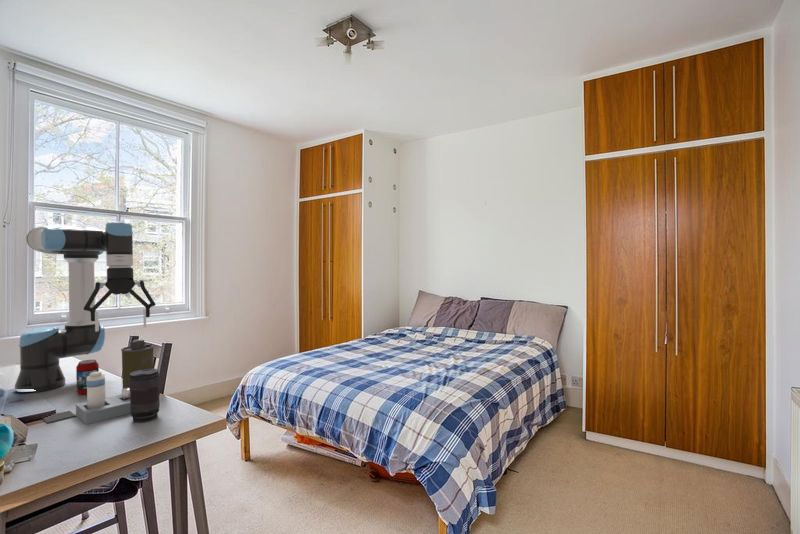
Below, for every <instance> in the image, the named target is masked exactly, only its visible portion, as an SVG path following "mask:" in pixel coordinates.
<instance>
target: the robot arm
mask: <svg viewBox="0 0 800 534" xmlns="http://www.w3.org/2000/svg"><path fill="white" fill-rule="evenodd" d="M132 227H133V226H132V224H131V223H130V222H124V221H123V222H122V221H108V222H107V223H106V224H105V229H98V228H96V227H90V226H89V227H88V226H74V225H73V226H71V225H69V226H68V225H54V224H53V225H42V226H37V227H34V228H32V229H31V230H30V231H28V233H27V235H26V243H27V245H28V247H30V248H31V249H33V250H34V251H36V252H39V253H44V254H49V255H51V254H52V255H63V260H65V261H66V262H67V263H68V310H69V311H68V313H69V314H68V315H69V316H68V321H66V323H64V329H60V328H59V326H55V325H54V326H46V327H40V328H36V329H32V330H28V331H25V332H23V333H22V334H21V335H20V336H19V345H18V346H19V358H20V360H19V364H20V365H19V368H20V369H19V374H18V376H17V378H16V382H15V384H14V390H15V389H34V390H36V391H38V392H45V391H46V392H47V391H50V390H53V389H57V388H60V387H62V386H64V385H66V377H65V375H64V372H63V370H62V369H61V366H60V359H63V358H65V359H66V358H70V357H71V358H72V357H76V356H83V355H86V356H87V355H91V354H94V353H99V352H100V351H101V350H102V348H103V346H104V344H105V341H106V340H105V338H106V332H105V326H104V325H102V324H100V321H99V319H100V318H99V310H97V309H98V308H100V306H101V305H102V304H103V303H104V302H105V301H106V300H107V299H108V298H109V297H110V296H111V295H127V294H131V296H132V297H133V298H135V300H137V301H138V303H140V304H141V305H142V306H143V307H144V308H143V309H142V313H143V315H142V316H143V328H147V318H150V315H151V311H150V309H151V308H153V307H155V306H156V302H155V301H154V299H153V297H152V296H151V294H150V293H149V291H148V290H147V288H146V286H145V281H144V280H137V281H135V280H134V268H133V266H134V252H133V251H134V250H133V249H134V248H133V234H134V233H133V228H132ZM104 253H105V254H106V258H105V259H106V266H107V267H108V268H107V269H106V282H102V281H101V282H100V281H96V282H95V262H97V261H98V260H99V256H101V255H102V254H104ZM136 285H137V287H138V288H140V289H141V290H142V292H143V294H144V295H145V297H146V299H147V300H148V302H149V303H148V302H147V301H145V300H144V299H143V298H142V297H141V296H140V295H139V294H138V293H137V292H135V291H134V287H135V286H136ZM104 287H106V289H108V290H107V292H106V293H105V294H104V295H103V296H102V297H101V298H100V299H99V300H98V301H97V302H96V300H95V299H96V296H97V295H98V293H99V292H100V290H101V289H103V288H104ZM96 310H97V311H96ZM38 392H37V393H38Z"/></svg>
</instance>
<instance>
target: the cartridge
mask: <svg viewBox="0 0 800 534" xmlns="http://www.w3.org/2000/svg"><path fill="white" fill-rule="evenodd" d="M105 377H106V375H105V373H102V371H99V372H92V373H90V376H88V377H87V394H86V395H87V396H86V397H87V399H86V402H87V409H88V410H89V409H94V408H98V407H102V406H105V398H106V386H105V385H106V378H105Z"/></svg>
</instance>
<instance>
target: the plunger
mask: <svg viewBox="0 0 800 534" xmlns="http://www.w3.org/2000/svg"><path fill="white" fill-rule="evenodd" d="M121 394H122V400H123V401H125V400H129V399H130V389H129V388H124V389H123V388H121Z"/></svg>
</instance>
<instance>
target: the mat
mask: <svg viewBox="0 0 800 534" xmlns="http://www.w3.org/2000/svg"><path fill="white" fill-rule="evenodd" d="M50 415H51V416H48V415H47V416H48V417H45V418H42V420H43V421H44V422H45V423H46V424H51V423H56V422H59V421H63V420H67V419H73V418H75V417H77V415H76V414H75V413H73V412H72V411H71V410H67V411H63V412H58V413H54V414H50Z"/></svg>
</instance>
